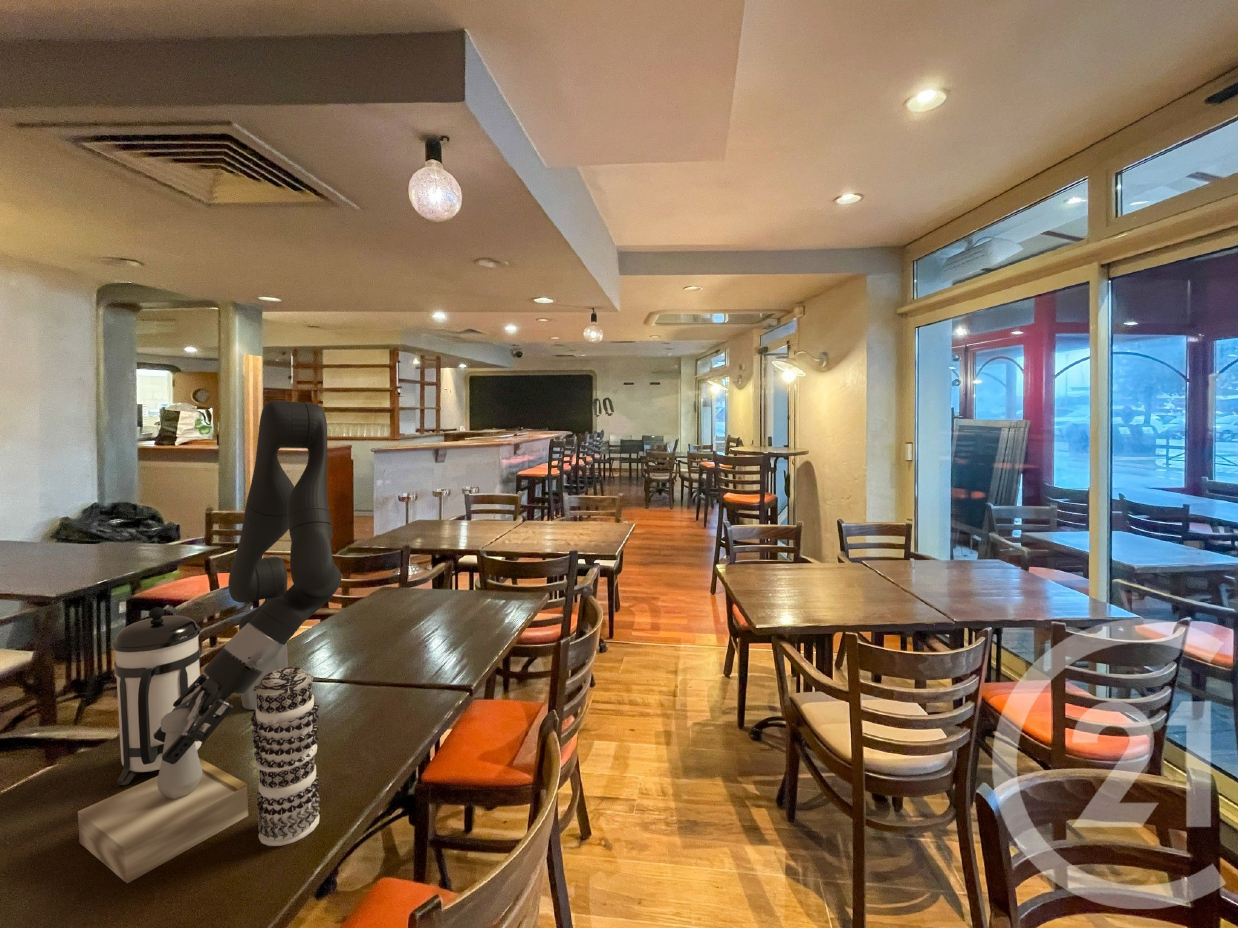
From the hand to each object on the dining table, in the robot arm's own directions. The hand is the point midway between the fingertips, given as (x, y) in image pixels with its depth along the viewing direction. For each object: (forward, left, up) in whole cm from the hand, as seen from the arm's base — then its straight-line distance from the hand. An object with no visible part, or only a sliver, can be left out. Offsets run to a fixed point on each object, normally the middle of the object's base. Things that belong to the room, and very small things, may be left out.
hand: (162, 750), depth 89 cm
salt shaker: (0, +2, -8) cm, 9 cm away
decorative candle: (+16, +10, -13) cm, 23 cm away
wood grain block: (-1, 0, -13) cm, 13 cm away
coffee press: (-21, +8, -13) cm, 26 cm away
